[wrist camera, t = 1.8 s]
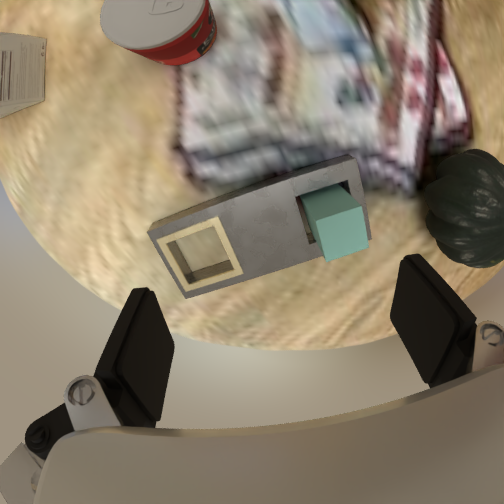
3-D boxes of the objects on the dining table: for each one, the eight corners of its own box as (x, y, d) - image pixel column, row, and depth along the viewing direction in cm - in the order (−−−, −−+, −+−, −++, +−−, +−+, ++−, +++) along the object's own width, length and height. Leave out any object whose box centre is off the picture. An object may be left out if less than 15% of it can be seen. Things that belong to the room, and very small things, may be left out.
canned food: (220, 59, 24) (208, 34, 14) (146, 73, 24) (100, 62, 14) (214, 0, 20) (201, -46, 11) (142, 15, 20) (99, -17, 11)
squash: (427, 287, 32) (527, 296, 20) (398, 189, 26) (530, 180, 14) (448, 223, 38) (527, 222, 26) (423, 139, 32) (515, 126, 20)
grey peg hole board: (347, 154, 29) (357, 159, 27) (364, 230, 34) (372, 240, 31) (152, 223, 33) (146, 233, 30) (188, 287, 37) (185, 300, 35)
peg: (335, 181, 31) (361, 205, 24) (343, 216, 33) (368, 247, 26) (299, 193, 31) (315, 221, 24) (309, 227, 34) (326, 262, 27)
